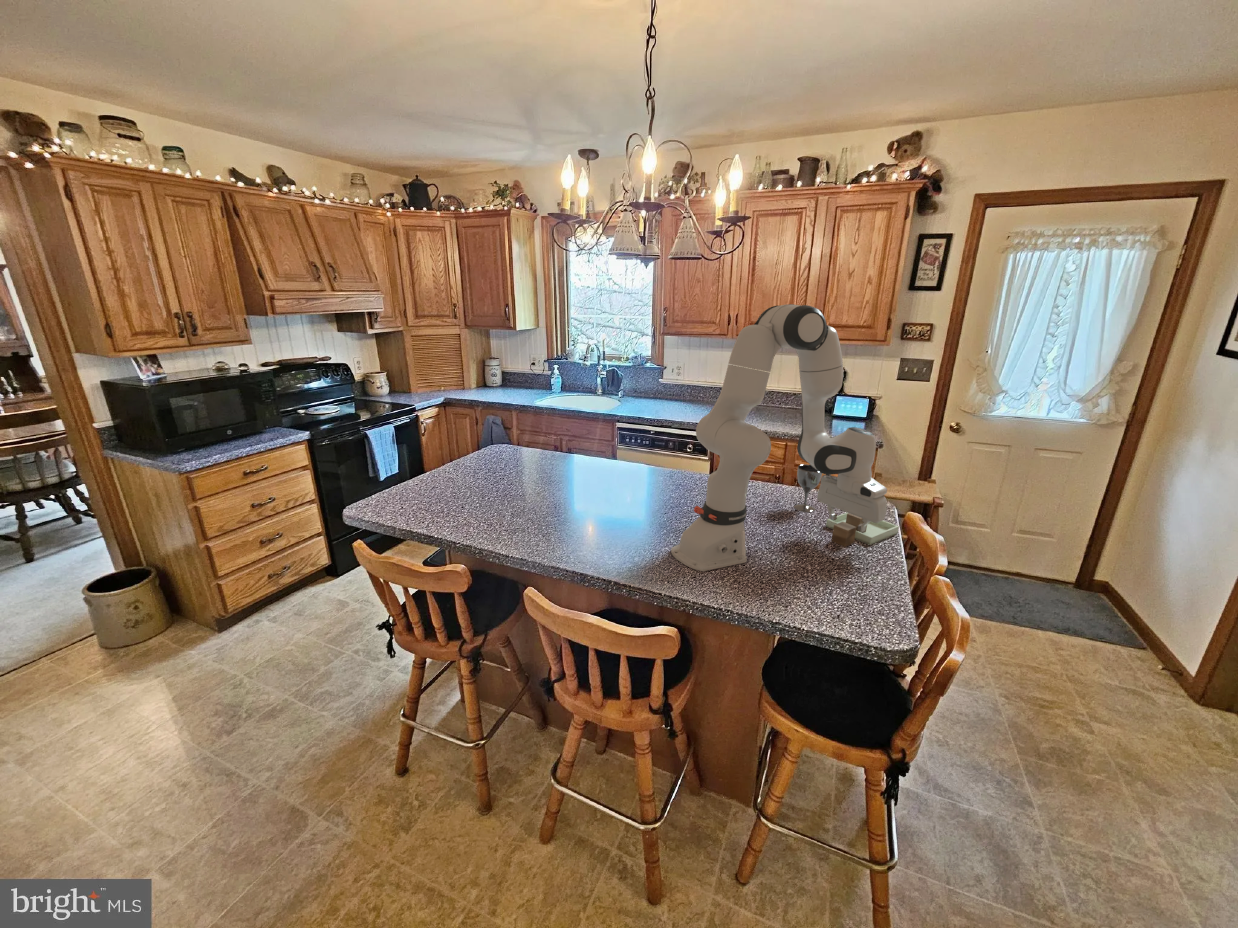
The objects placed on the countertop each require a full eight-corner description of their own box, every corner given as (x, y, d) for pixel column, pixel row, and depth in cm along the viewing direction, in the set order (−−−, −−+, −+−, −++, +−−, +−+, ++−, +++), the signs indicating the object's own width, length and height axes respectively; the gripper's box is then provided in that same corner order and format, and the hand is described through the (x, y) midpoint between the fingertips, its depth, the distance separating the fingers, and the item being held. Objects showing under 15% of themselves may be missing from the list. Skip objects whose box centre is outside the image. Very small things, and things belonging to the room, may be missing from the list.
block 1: (844, 547, 148) (847, 530, 147) (831, 541, 152) (834, 524, 150) (853, 543, 151) (856, 527, 149) (840, 537, 154) (842, 521, 152)
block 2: (857, 535, 155) (860, 518, 153) (844, 529, 158) (847, 513, 156) (865, 531, 157) (868, 515, 155) (852, 526, 161) (855, 510, 159)
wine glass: (818, 513, 171) (824, 472, 167) (794, 511, 173) (799, 470, 168) (814, 504, 179) (820, 465, 174) (791, 502, 180) (796, 463, 175)
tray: (869, 545, 150) (871, 537, 149) (825, 526, 162) (827, 519, 161) (897, 533, 157) (899, 526, 157) (853, 516, 170) (854, 509, 169)
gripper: (815, 474, 152) (810, 515, 157) (880, 495, 136) (872, 540, 140) (828, 470, 155) (822, 510, 160) (893, 490, 139) (884, 534, 144)
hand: (846, 524), depth 150 cm, fingers open, 8 cm apart
